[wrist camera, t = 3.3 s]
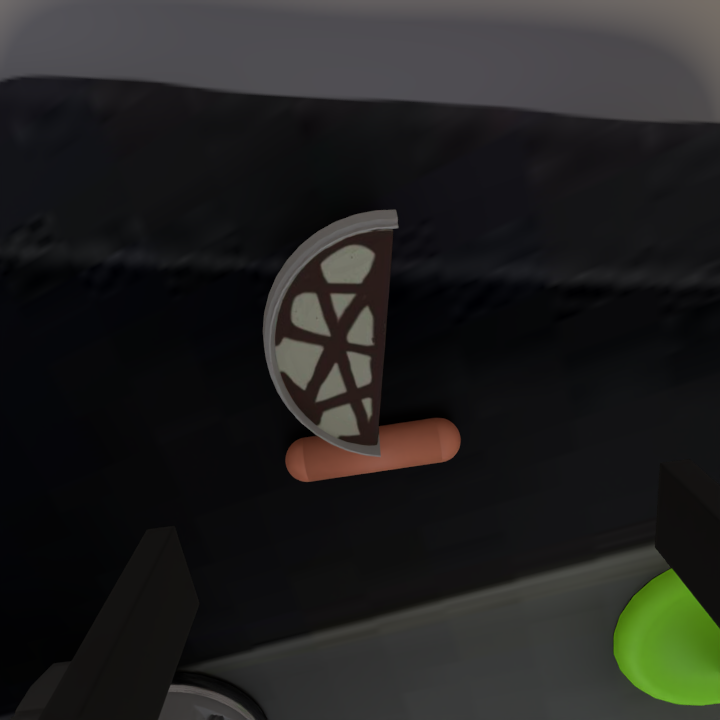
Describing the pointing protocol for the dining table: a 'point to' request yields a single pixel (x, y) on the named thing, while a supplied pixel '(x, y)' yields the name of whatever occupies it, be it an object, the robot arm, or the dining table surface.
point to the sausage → (396, 447)
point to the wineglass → (669, 644)
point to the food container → (334, 329)
